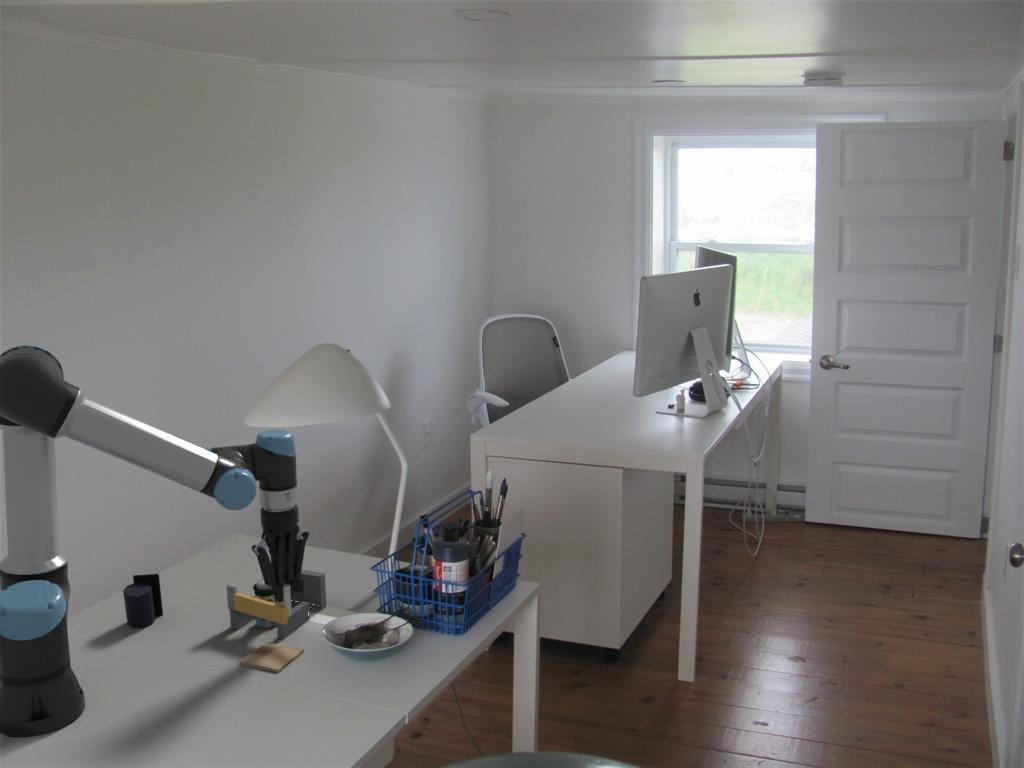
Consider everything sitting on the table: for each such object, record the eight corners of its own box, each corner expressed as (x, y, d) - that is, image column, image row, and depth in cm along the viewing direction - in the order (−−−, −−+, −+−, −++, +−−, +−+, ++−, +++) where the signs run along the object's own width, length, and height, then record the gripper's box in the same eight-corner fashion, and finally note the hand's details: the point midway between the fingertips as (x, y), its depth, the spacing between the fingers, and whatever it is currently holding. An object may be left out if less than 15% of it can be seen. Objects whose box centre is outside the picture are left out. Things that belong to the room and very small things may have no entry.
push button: (285, 617, 222) (283, 574, 220) (287, 627, 217) (285, 584, 215) (254, 621, 220) (252, 578, 218) (255, 631, 215) (253, 587, 213)
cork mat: (278, 672, 198) (278, 669, 197) (239, 664, 201) (239, 661, 201) (303, 652, 206) (303, 649, 206) (266, 644, 209) (265, 642, 209)
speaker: (139, 611, 224) (135, 569, 221) (163, 614, 223) (160, 572, 220) (121, 629, 217) (117, 586, 213) (146, 633, 216) (142, 590, 213)
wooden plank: (225, 608, 215) (224, 586, 214) (233, 604, 217) (232, 582, 216) (282, 625, 207) (281, 603, 206) (289, 621, 209) (288, 599, 208)
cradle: (283, 639, 211) (282, 603, 210) (228, 628, 216) (226, 593, 214) (326, 606, 227) (325, 573, 225) (273, 597, 232) (272, 564, 230)
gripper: (264, 518, 198) (270, 630, 203) (316, 502, 208) (320, 608, 213) (241, 510, 203) (247, 619, 208) (293, 494, 212) (298, 599, 217)
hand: (284, 614), depth 210 cm, fingers closed
